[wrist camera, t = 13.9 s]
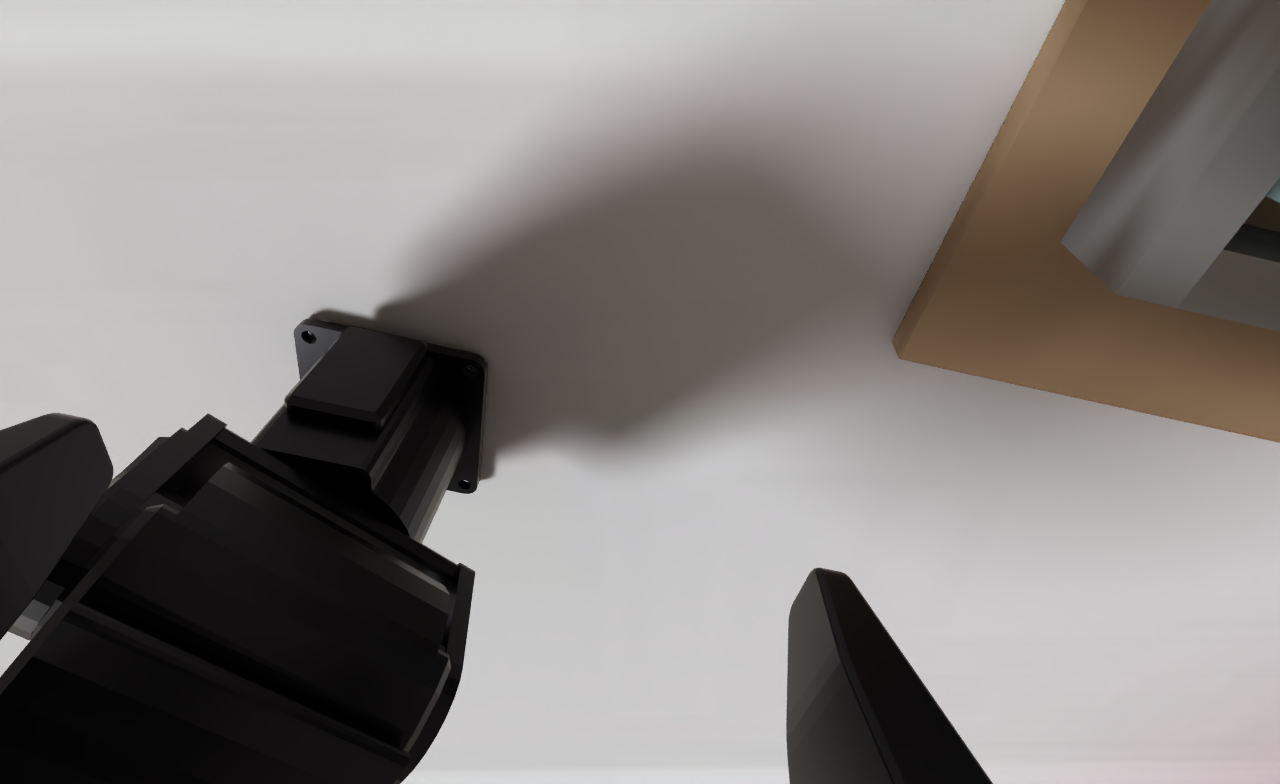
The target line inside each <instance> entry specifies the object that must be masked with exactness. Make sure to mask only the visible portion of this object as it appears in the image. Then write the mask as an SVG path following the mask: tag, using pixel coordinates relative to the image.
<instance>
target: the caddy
mask: <svg viewBox="0 0 1280 784" xmlns="http://www.w3.org/2000/svg"><path fill="white" fill-rule="evenodd" d="M1279 178H1280V0H1066V1H1065V3H1064V5H1063V7H1062V9H1061V11H1060V13H1059V15H1058V17H1057V19H1056V21H1055V23H1054V25H1053V27H1052V29H1051V31H1050V33H1049V35H1048V37H1047V39H1046V40H1045V42H1044V44H1043V46H1042V48H1041V50H1040V52H1039V54H1038V56H1037V58H1036V60H1035V62H1034V64H1033V66H1032V68H1031V70H1030V72H1029V74H1028V76H1027V78H1026V80H1025V82H1024V84H1023V86H1022V88H1021V90H1020V91H1019V93H1018V95H1017V97H1016V99H1015V101H1014V103H1013V105H1012V107H1011V109H1010V111H1009V113H1008V115H1007V117H1006V119H1005V121H1004V123H1003V125H1002V127H1001V129H1000V131H999V133H998V135H997V137H996V139H995V141H994V142H993V144H992V146H991V148H990V150H989V152H988V154H987V156H986V158H985V160H984V162H983V164H982V166H981V168H980V170H979V172H978V174H977V176H976V178H975V180H974V182H973V184H972V186H971V188H970V190H969V192H968V193H967V195H966V197H965V199H964V201H963V203H962V205H961V207H960V209H959V211H958V213H957V215H956V217H955V219H954V221H953V223H952V225H951V227H950V229H949V231H948V233H947V235H946V237H945V239H944V241H943V243H942V244H941V246H940V248H939V250H938V252H937V254H936V256H935V258H934V260H933V262H932V264H931V266H930V268H929V270H928V272H927V274H926V276H925V278H924V280H923V282H922V284H921V286H920V288H919V290H918V292H917V294H916V296H915V297H914V299H913V301H912V303H911V305H910V307H909V309H908V311H907V313H906V315H905V317H904V319H903V321H902V323H901V325H900V327H899V329H898V331H897V333H896V335H895V337H894V339H893V341H892V343H893V345H894V348H895V350H896V352H897V355H898V357H899V359H902V360H907V361H911V362H916V363H921V364H925V365H930V366H934V367H939V368H943V369H948V370H952V371H957V372H961V373H966V374H971V375H975V376H980V377H984V378H989V379H993V380H998V381H1002V382H1007V383H1011V384H1016V385H1020V386H1025V387H1030V388H1034V389H1039V390H1043V391H1048V392H1052V393H1057V394H1061V395H1066V396H1070V397H1075V398H1080V399H1084V400H1089V401H1093V402H1098V403H1102V404H1107V405H1111V406H1116V407H1120V408H1125V409H1129V410H1134V411H1139V412H1143V413H1148V414H1152V415H1157V416H1161V417H1166V418H1170V419H1175V420H1179V421H1184V422H1189V423H1193V424H1198V425H1202V426H1207V427H1211V428H1216V429H1220V430H1225V431H1229V432H1234V433H1238V434H1243V435H1248V436H1252V437H1257V438H1261V439H1266V440H1270V441H1275V442H1279V443H1280V203H1279V202H1277V201H1275V200H1273V199H1271V198H1269V197H1267V196H1266V194H1267V193H1268V192H1269V191H1270V189H1271V188H1272V187H1273V185H1274V184H1275V183H1276V182H1277V180H1278V179H1279Z"/></svg>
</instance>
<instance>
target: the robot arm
mask: <svg viewBox="0 0 1280 784" xmlns="http://www.w3.org/2000/svg"><path fill="white" fill-rule="evenodd" d="M308 331H309V332H312V333H313V334H314V335H315V336H316V338H315V337H313V336H311V335H310V334H309V333H308ZM294 338H295V345H296V352H297V359H298V367H299V374H300V381H299V382H298V383H297V384H296V386H295V387H294V388H293V389H292V390H291V391H290V392H289V394H288V395H287V396H286V397H285V403H284V405H283V406H282V407H281V408H280V409H279V410H278V411H277V413H276V414H275V415H274V416H273V417H272V418H271V420H270V421H269V422H268V423H267V424H266V425H265V426H264V428H263V429H262V430H261V431H260V432H259V433H258V434H257V436H256V437H255V438H254V439H253V440H252V441H251V443H250V442H249V441H247V440H245V439H244V438H242V437H240V436H238V435H237V434H235V433H233V432H232V431H230V430H228V429H227V428H226V426H227V424H225V423H224V422H222V421H220V420H218V419H217V418H215V417H213V416H212V415H210V414H207V415H206V416H205V417H203V418H202V419H201V420H200V421H199V422H197V423H196V424H195V425H194V426H193V427H192V428H190V429H189V430H188V431H187V430H185V429H184V428H181V429H180V430H178V431H177V432H176V433H175V434H173V435H172V436H171V437H158V438H157V439H156V440H155V441H154V442H153V443H152V444H151V445H150V446H149V447H148V448H147V449H146V450H145V451H144V452H143V453H142V454H141V455H139V456H138V457H137V458H136V459H135V460H134V461H133V462H132V463H131V464H130V465H129V466H128V467H127V468H125V469H124V470H123V471H122V472H121V473H120V474H119V475H117V476H116V477H115V478H114V479H112V477H113V465H112V463H111V460H110V457H109V455H108V452H107V450H106V447H105V445H104V442H103V439H102V437H101V434H100V432H99V429H98V427H97V426H96V424H95V423H93V422H92V421H91V420H89V419H86V418H81V417H76V416H72V415H67V414H61V413H51V414H46V415H43V416H40V417H37V418H34V419H32V420H29V421H26V422H23V423H20V424H17V425H14V426H12V427H9V428H6V429H3V430H0V640H1V639H2V637H3V636H4V635H5V634H6V633H7V631H9V632H11V633H13V634H16V635H18V636H20V637H23V638H25V639H27V640H31V641H30V642H29V643H28V645H27V646H26V647H25V648H24V650H23V651H22V652H21V653H20V654H19V656H18V657H17V658H16V659H15V660H14V662H13V663H12V664H11V665H10V666H9V668H8V669H7V670H6V671H5V672H4V674H3V675H2V676H1V677H0V784H400V783H401V782H402V781H403V780H404V779H405V778H406V777H407V776H408V775H409V774H410V773H411V772H412V771H413V770H414V768H415V767H416V766H417V764H418V763H419V762H420V760H421V759H422V758H423V756H424V755H425V754H426V752H427V750H428V749H429V747H430V745H431V744H432V742H433V741H434V739H435V737H436V736H437V734H438V732H439V730H440V728H441V726H442V724H443V722H444V720H445V719H446V716H447V714H448V712H449V709H450V707H451V705H452V702H453V700H454V698H455V695H456V691H457V688H458V685H459V682H460V678H461V673H462V668H463V661H464V654H465V646H466V639H467V631H468V623H469V616H470V608H471V600H472V593H473V585H474V578H475V571H473V570H472V569H470V568H468V567H466V566H465V565H463V564H461V563H459V564H458V565H457V564H455V563H454V562H452V561H450V560H448V559H447V558H445V557H443V556H442V555H440V554H438V553H437V552H435V551H433V550H432V549H430V548H428V547H426V546H425V545H423V544H422V542H423V540H424V537H425V535H426V533H427V531H428V529H429V527H430V524H431V522H432V520H433V518H434V516H435V514H436V511H437V509H438V507H439V505H440V503H441V500H442V498H443V496H444V494H445V492H446V490H449V491H454V492H459V493H465V494H470V493H473V492H474V491H476V489H477V486H478V484H479V481H480V471H481V458H482V444H483V430H484V417H485V403H486V390H487V376H488V365H487V362H486V361H485V359H484V358H483V357H481V356H480V355H477V354H475V353H470V352H466V351H461V350H456V349H452V348H447V347H442V346H438V345H433V344H428V343H424V342H422V341H419V340H414V339H409V338H405V337H400V336H395V335H391V334H386V333H381V332H376V331H372V330H367V329H362V328H358V327H353V326H351V327H349V326H344V325H339V324H335V323H330V322H325V321H321V320H316V319H305V320H303V321H302V322H301V323H300V324H299V325H298V326H297V327H296V328H295V330H294ZM467 366H473V367H475V368H476V369H477V371H472V370H470V369H469V368H468V367H467ZM464 480H466V481H468V482H466V481H464ZM787 755H788V768H789V779H790V784H993V783H992V782H991V780H990V779H989V777H988V776H987V774H986V773H985V771H984V770H983V769H982V767H981V766H980V764H979V763H978V761H977V760H976V758H975V757H974V756H973V754H972V753H971V751H970V750H969V748H968V747H967V746H966V744H965V743H964V741H963V740H962V738H961V737H960V735H959V734H958V733H957V731H956V730H955V728H954V727H953V725H952V724H951V722H950V721H949V720H948V718H947V717H946V715H945V714H944V712H943V711H942V710H941V708H940V707H939V705H938V704H937V702H936V701H935V699H934V698H933V697H932V695H931V694H930V692H929V691H928V689H927V688H926V686H925V685H924V684H923V682H922V681H921V679H920V678H919V676H918V675H917V673H916V672H915V671H914V669H913V668H912V666H911V665H910V663H909V662H908V661H907V659H906V658H905V656H904V655H903V653H902V652H901V650H900V649H899V648H898V646H897V645H896V643H895V642H894V640H893V639H892V637H891V636H890V635H889V633H888V632H887V630H886V629H885V627H884V626H883V624H882V623H881V622H880V620H879V619H878V617H877V616H876V614H875V613H874V612H873V610H872V609H871V607H870V606H869V604H868V603H867V601H866V600H865V599H864V597H863V596H862V594H861V593H860V591H859V590H858V588H857V587H856V586H855V584H854V583H853V581H852V580H851V579H850V577H848V576H847V575H846V574H845V573H842V572H838V571H833V570H829V569H824V568H815V569H813V570H812V571H811V572H810V574H809V575H808V577H807V579H806V581H805V583H804V584H803V586H802V588H801V590H800V592H799V593H798V595H797V597H796V599H795V600H794V602H793V604H792V607H791V610H790V615H789V628H788V674H787Z"/></svg>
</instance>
